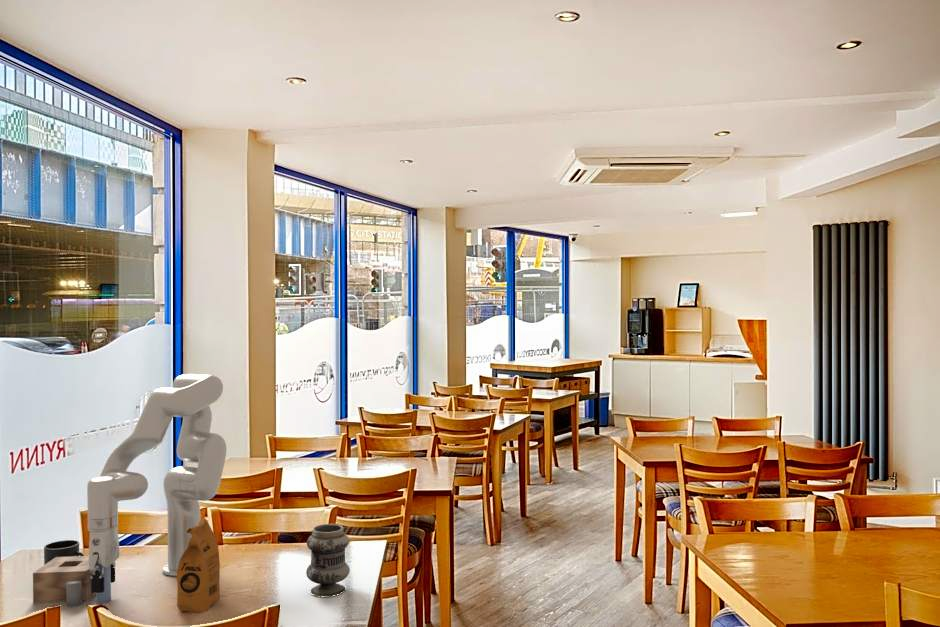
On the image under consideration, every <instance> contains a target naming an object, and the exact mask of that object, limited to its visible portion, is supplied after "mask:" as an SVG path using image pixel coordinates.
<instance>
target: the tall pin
mask: <svg viewBox="0 0 940 627" xmlns="http://www.w3.org/2000/svg"><path fill="white" fill-rule="evenodd" d="M97 566H102V565H101V564H97ZM97 570H98V571H99V572H100V569H97ZM103 577H104V592H103V593H95V596H96V598H95V599H96V602H95V603H97V604H104V603H105V604H106V603H109V602H110V601H111V600H112V585H111V584H112V583H111V565H110V566H108V567H105V566H104V572H103Z"/></svg>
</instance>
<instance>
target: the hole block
mask: <svg viewBox="0 0 940 627" xmlns="http://www.w3.org/2000/svg"><path fill="white" fill-rule="evenodd" d="M89 567H90V566H89V555H84V556H80V555H79V556H72V557H55V558H54V559H52V560H51V561H50V562H48V563H47V564H45V565H44V564H43V566H41V567H40V568H38V569H36V570H35V571H34V572H32V602H33V603H46V602H67V596H66V583H67V582H70V581H74V580H80V581H81V601H87V600H88V599H89V598H91V596H93V595H94V594H95V593H92V592H91V574H90V570H89Z"/></svg>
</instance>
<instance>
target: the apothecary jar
mask: <svg viewBox="0 0 940 627" xmlns="http://www.w3.org/2000/svg"><path fill="white" fill-rule="evenodd" d="M349 544H350V538H349V536H348V534H346V533H345V531H344V527H343V525H341V524H339V523H337V524H336V523H324V524H318V525H316V526H314V527H313V529H312V533H311V535H309V537H308V538H307V541H306V546H307V548H308V549H309V550H310V556H311V559H310V564H309V565H308V567H307V568H306V577H307V578H308V579H309V581H311V582H312V583H315V584H316V585H315V586H313V587H312V588H311V589H310V591H311V593H312V594H314V595H316V596H320V597H319V598H322V597H321V596H333V595H337V594H340V593H341V592H343V591H344V590H345V588H346V587H345V586H344V585H343V584H340V582H342V581H344V580H345V579H346V578H347V577H348V576H349V574H350V571H351V570H350V566H349V564H348V563H347V562H346V548H347V547H348V546H349ZM311 593H310V594H311ZM312 594H311V595H312ZM341 594H342V593H341ZM341 594H340V595H341ZM314 595H313V596H314ZM316 596H315V597H316Z"/></svg>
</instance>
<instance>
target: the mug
mask: <svg viewBox="0 0 940 627" xmlns="http://www.w3.org/2000/svg"><path fill="white" fill-rule="evenodd" d="M43 554H44V555H43V558H44V559H43V566H44V565H45V564H47V563H48V562H50V561H51V560H52V559H54V558H55V557H72V556H85V554H84V553H82V552H81V551H80V542H79V541H78V540H73V539H68V540H67V539H66V540H58V541H57V540H56V541H54V542H50V543H47V544H45V546H44V548H43Z"/></svg>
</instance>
